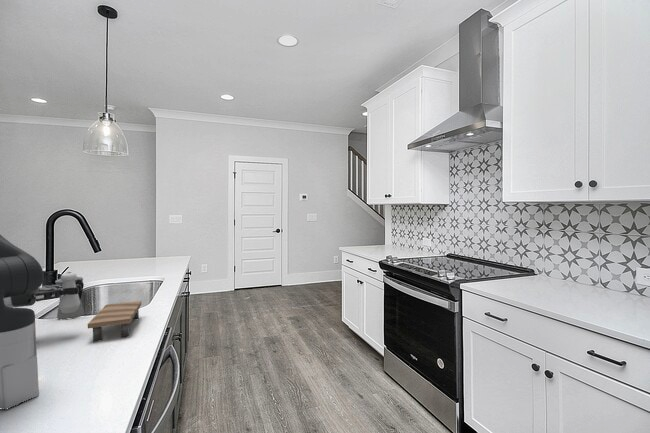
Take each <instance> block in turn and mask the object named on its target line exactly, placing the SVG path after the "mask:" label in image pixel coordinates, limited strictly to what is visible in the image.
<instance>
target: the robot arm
mask: <svg viewBox="0 0 650 433" xmlns="http://www.w3.org/2000/svg"><path fill="white" fill-rule="evenodd" d="M44 274H45V273H44V270H43V268H42V266H41V264H40V262H39V261H38V260H37V259H36V258H35V257H34V256H32V254H29V253H28V252H26V251H24V250H23V249H21V248H19V247H18V246H17V245H14V244H13V243H11V242H10V240H9V239H7V238H5V237H4V236H2V235H1V234H0V408H4V409H7V408H10V407H12V406H14V407H16V406H18V405H17V404H19V403H21V402H23V403H25V402H27V401H29V400H28V399H30V400H32V399H33V398H36V397H38V396H40V389H39V370H38V355H37V353H38V352H37V335H36V332H37V331H36V313H35V310H33V309H31V308H28V307H31V306H34V305H35V303H36V302H42V301H47V300H53V299H60V296H61V297H62V296H64V295H66V294H68V295H73V294H78V293H79V292H80V291H81V290H82V286H81V285H76V287H74V288H65V289H64V288H62V287H63V285H56V284H50V285H43V283H44V280H45V275H44ZM31 398H32V399H31ZM26 400H27V401H26ZM24 401H25V402H24ZM21 404H22V403H21ZM15 405H16V406H15ZM19 405H20V404H19ZM12 408H13V407H12ZM4 409H3V410H4ZM10 409H11V408H10ZM7 410H8V409H7Z"/></svg>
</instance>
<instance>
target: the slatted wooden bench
mask: <svg viewBox="0 0 650 433" xmlns="http://www.w3.org/2000/svg"><path fill="white" fill-rule="evenodd" d="M141 306H142V300H138V301H137V300H136V301H128V302H117V303H109V304H108V303H107V304H105V305H104V306H103V307H102V308H101V310H100V311H99V312H97V314H96V315H94V317H93V318H92V319H91V320H90V321H89V322H88V323H87V329H92V342H94V343H95V342H101V341H102V340H103V338H102V336H103V334H102V331H103V330H102V328H103V327H110V326H119V325H120V338H121V339H126V338H128V337H130V329H129V328H130V327H129V326H130V325H129V324H131V322H132V321H137V319H138V320H139V318H140V315H139V312H140V311H139V310H140V309H141Z"/></svg>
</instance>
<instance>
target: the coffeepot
mask: <svg viewBox="0 0 650 433" xmlns="http://www.w3.org/2000/svg"><path fill="white" fill-rule="evenodd" d="M67 273H72V272H69V271H68V272H67ZM75 284H76V285H81V286H82V290H81V291H80V292H79V293H78V296H79V300H80V306H79V308H78V310H77V311H75V312H71V313H62V311H61V310H60V308H59V306H58V308H57V315H56V318H57V319H58V320H60V319H62V320H64V321H65V320H68V319H67V318H72V319H76V318H79V317H82V316H84V315H85V310H84V307H83V303H82V302H83V301H82V296H83V290H84V285H85V283H84V278H83V277H82V276H77V279H76V280H75ZM55 285H63V281H61V278H58V279H57V280H55ZM60 298H61V296H60ZM60 298H59V299H60ZM59 303H60V301H59V302H58V304H59Z"/></svg>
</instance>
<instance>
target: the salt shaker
mask: <svg viewBox="0 0 650 433" xmlns="http://www.w3.org/2000/svg"><path fill="white" fill-rule="evenodd" d="M77 277H78V276H77V274H76V273H75V272H71V273H68V272H66V273H63V274H62V275H61V276H60V279H61V281H63V287H62V288H64V289H65V288H74V287H76V284H75V280H76V279H77ZM59 302H60V303H59ZM59 302H58V307H59V308H60V310H61V311H62V313H71V312H75V311H77V310H78V308H79V306H80V300H79V296H78V294H73V295H68V294H66V295H64V296H62V297H61V298H59Z"/></svg>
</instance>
